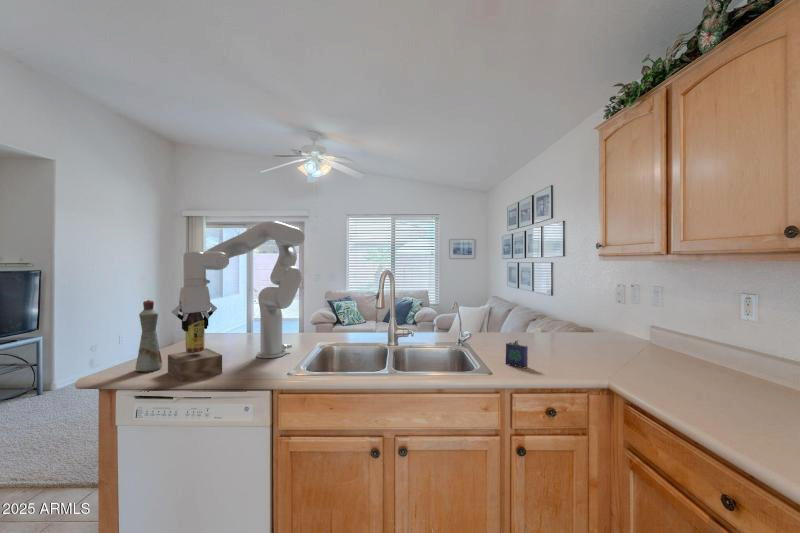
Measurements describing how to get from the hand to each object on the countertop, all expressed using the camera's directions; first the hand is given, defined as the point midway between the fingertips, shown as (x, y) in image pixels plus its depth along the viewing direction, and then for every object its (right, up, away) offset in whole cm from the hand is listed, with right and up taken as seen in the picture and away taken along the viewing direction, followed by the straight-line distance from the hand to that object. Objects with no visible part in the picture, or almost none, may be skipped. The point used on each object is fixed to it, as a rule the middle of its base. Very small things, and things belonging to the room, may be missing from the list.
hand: (195, 329), depth 135 cm
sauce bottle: (0, -9, 0) cm, 9 cm away
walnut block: (0, -17, 0) cm, 17 cm away
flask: (+128, -17, +11) cm, 130 cm away
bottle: (-21, -17, +4) cm, 27 cm away
